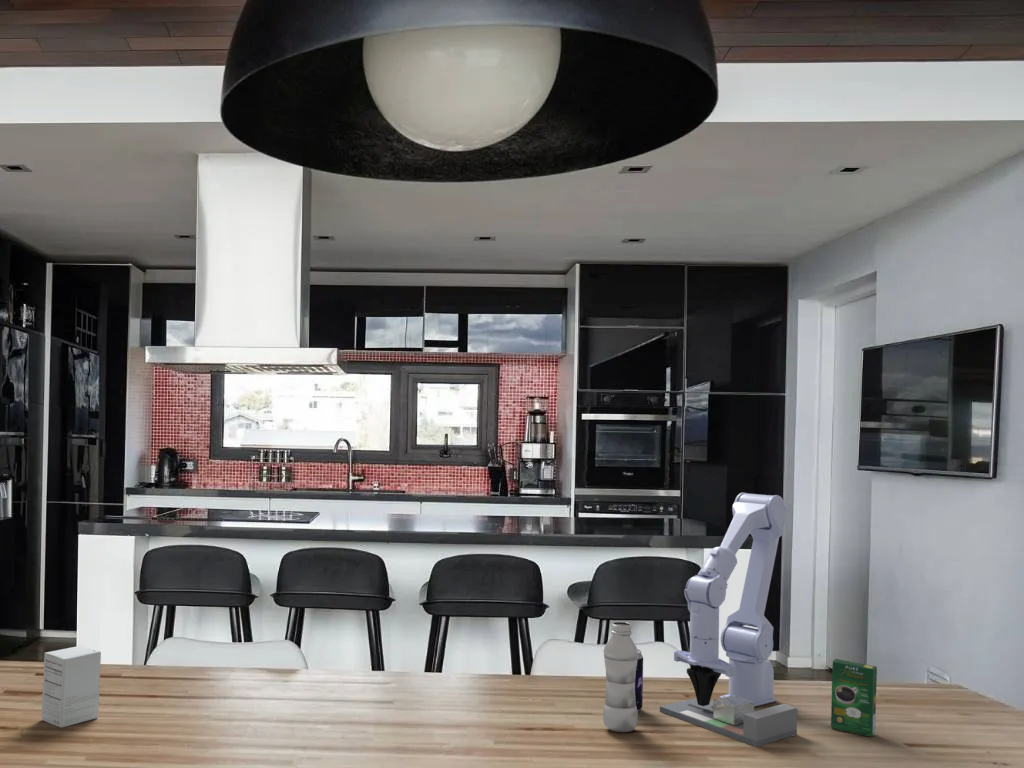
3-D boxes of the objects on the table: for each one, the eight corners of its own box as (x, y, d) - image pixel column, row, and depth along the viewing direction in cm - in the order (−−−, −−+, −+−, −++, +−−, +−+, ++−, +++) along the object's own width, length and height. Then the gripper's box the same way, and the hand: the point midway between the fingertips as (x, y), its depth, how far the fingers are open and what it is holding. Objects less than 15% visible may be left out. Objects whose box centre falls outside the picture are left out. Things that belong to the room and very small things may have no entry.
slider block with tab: (733, 712, 175) (733, 695, 176) (754, 719, 171) (754, 701, 172) (701, 721, 170) (701, 702, 170) (721, 728, 166) (722, 709, 166)
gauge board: (699, 701, 186) (699, 677, 187) (796, 734, 167) (796, 707, 167) (659, 711, 179) (660, 686, 179) (756, 746, 160) (756, 718, 160)
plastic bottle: (633, 738, 163) (635, 628, 164) (598, 733, 165) (600, 625, 166) (641, 727, 169) (642, 622, 170) (606, 723, 171) (608, 618, 172)
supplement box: (78, 710, 171) (81, 644, 172) (99, 718, 167) (102, 650, 167) (39, 720, 165) (43, 651, 166) (60, 728, 161) (63, 658, 161)
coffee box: (877, 734, 168) (877, 664, 169) (874, 738, 166) (874, 667, 167) (834, 725, 173) (834, 657, 174) (830, 729, 171) (830, 660, 172)
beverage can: (641, 715, 176) (642, 655, 177) (613, 713, 177) (614, 652, 178) (643, 707, 182) (644, 648, 182) (615, 705, 183) (616, 646, 183)
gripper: (664, 631, 182) (663, 698, 181) (719, 646, 170) (718, 717, 170) (687, 627, 186) (686, 693, 185) (743, 641, 175) (742, 711, 174)
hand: (703, 704), depth 178 cm, fingers closed
